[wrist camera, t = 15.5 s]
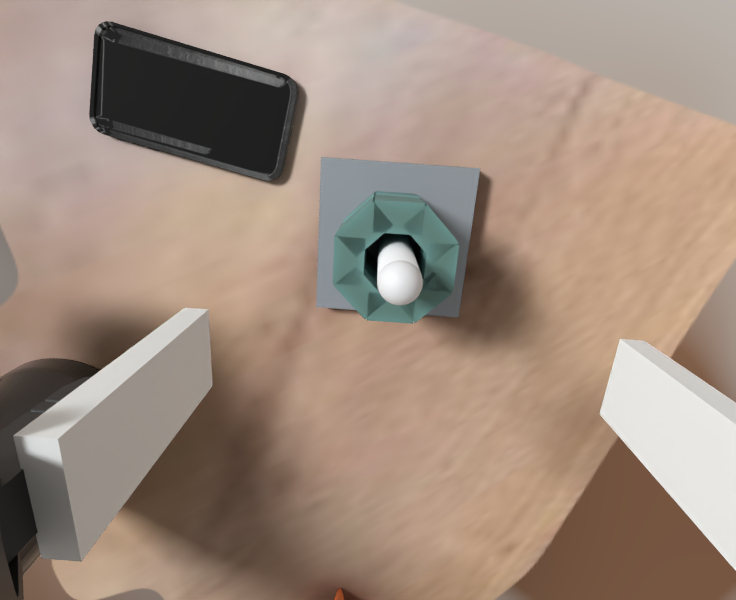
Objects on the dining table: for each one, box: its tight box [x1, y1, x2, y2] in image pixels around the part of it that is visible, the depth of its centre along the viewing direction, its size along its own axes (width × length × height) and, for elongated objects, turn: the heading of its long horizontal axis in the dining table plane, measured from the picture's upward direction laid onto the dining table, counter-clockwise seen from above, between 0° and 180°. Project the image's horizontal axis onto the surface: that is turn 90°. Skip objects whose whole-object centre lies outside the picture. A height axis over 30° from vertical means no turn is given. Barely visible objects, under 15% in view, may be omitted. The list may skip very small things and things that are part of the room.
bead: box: [332, 191, 459, 323], centre depth 30 cm, size 8×8×8 cm
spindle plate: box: [316, 157, 480, 318], centre depth 28 cm, size 12×12×15 cm
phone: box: [90, 21, 299, 181], centre depth 32 cm, size 8×1×15 cm
